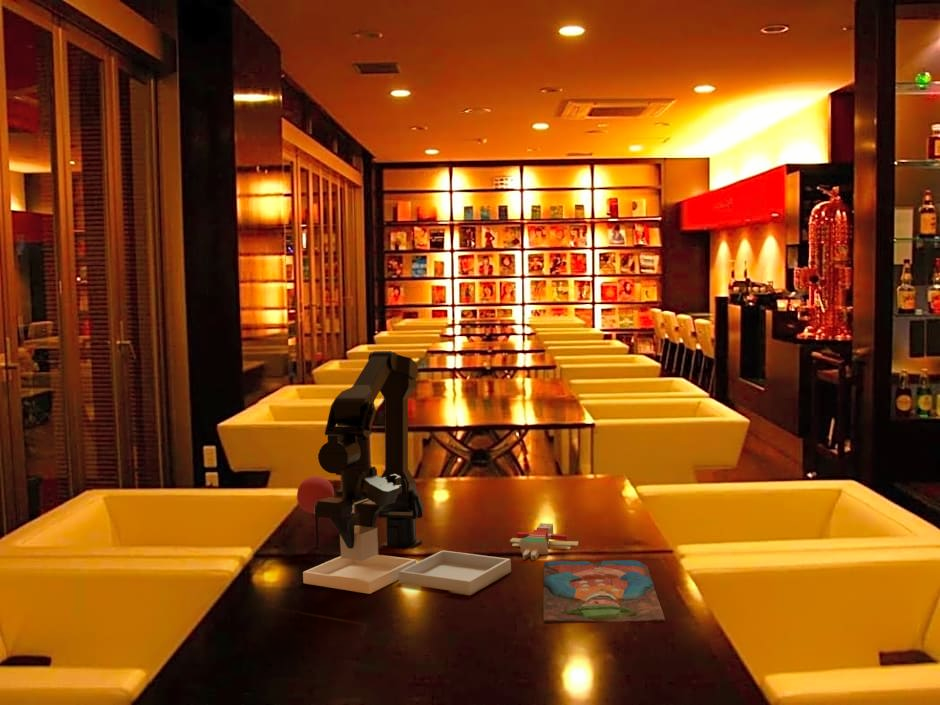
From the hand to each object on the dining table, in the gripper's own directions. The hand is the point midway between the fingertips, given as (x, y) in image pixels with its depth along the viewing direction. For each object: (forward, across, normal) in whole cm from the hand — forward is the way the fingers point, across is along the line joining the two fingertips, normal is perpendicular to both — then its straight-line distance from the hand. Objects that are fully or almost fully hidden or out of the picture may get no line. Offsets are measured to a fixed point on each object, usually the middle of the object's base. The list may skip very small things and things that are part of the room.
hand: (359, 544), depth 192 cm
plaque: (+8, +11, -44) cm, 46 cm away
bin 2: (+7, +8, -16) cm, 19 cm away
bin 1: (+7, 0, 0) cm, 7 cm away
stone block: (+2, 0, 0) cm, 2 cm away
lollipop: (+7, +15, +22) cm, 27 cm away
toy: (+7, +31, -22) cm, 39 cm away
